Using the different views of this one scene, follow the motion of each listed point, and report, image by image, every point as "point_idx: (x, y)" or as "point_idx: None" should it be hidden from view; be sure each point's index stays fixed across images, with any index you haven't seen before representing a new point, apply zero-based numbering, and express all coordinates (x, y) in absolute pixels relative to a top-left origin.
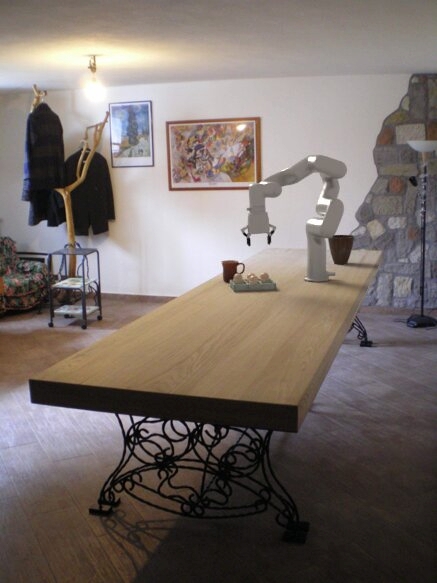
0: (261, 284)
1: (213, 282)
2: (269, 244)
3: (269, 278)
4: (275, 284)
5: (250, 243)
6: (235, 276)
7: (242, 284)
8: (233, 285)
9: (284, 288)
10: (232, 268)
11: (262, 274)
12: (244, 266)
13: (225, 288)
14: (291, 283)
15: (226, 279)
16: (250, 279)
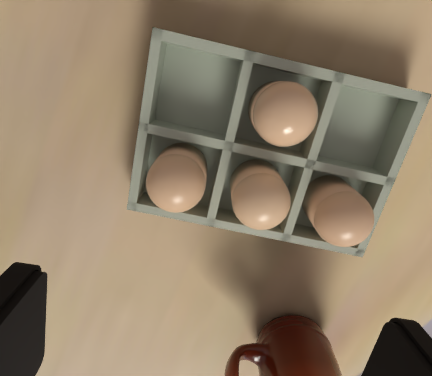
0: (252, 52)
1: (369, 346)
2: (33, 266)
3: (134, 199)
4: (158, 28)
5: (417, 355)
6: (372, 213)
7: (328, 161)
8: (418, 116)
9: (96, 52)
10: (311, 370)
11: (192, 177)
12: (232, 374)
13: (395, 200)
14: (14, 170)
15: (322, 332)
16: (316, 105)
